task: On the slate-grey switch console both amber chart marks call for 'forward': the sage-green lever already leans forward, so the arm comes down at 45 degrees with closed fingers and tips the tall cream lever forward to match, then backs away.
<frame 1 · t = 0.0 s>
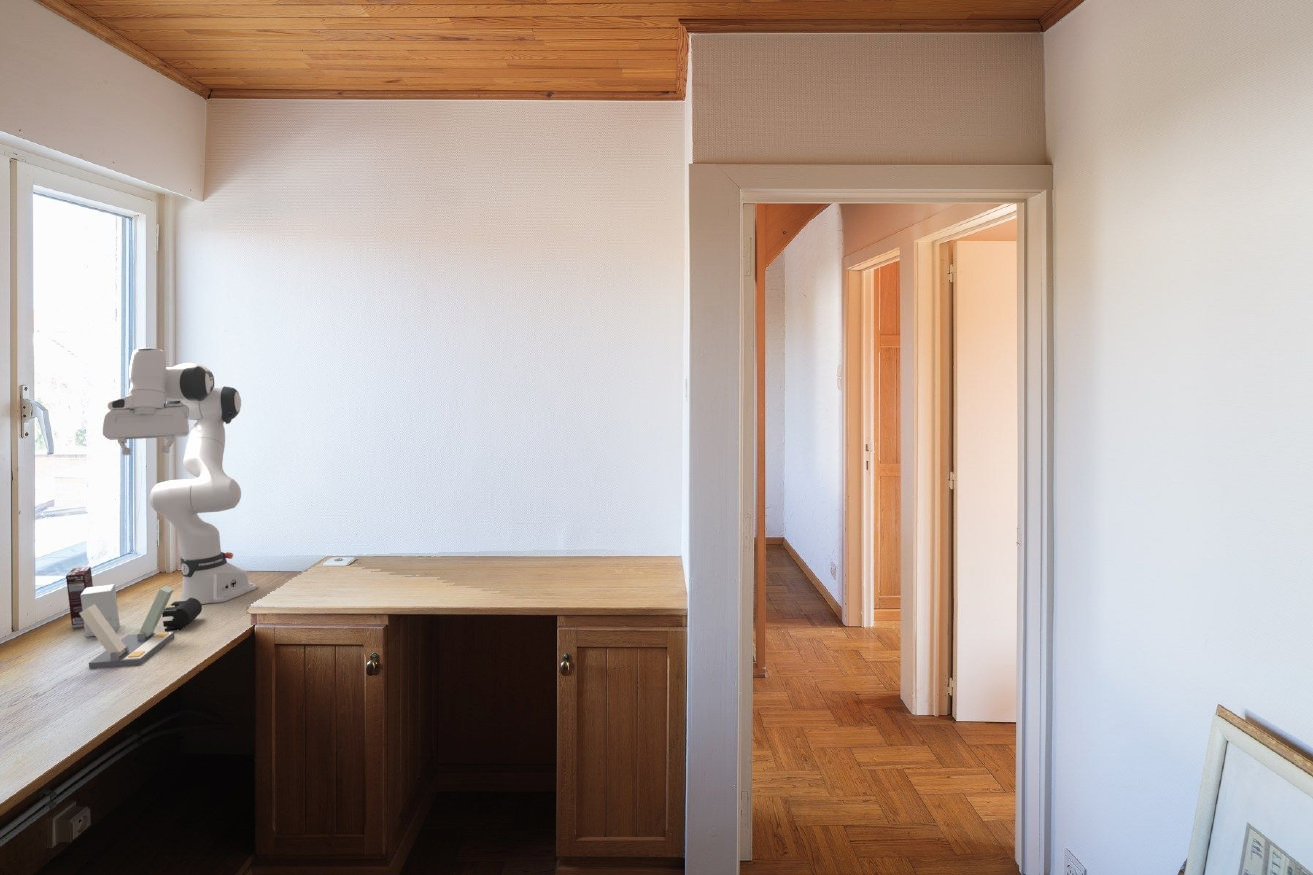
hand: (146, 453, 221), 52 cm above the table, tool tilted 20°, fingers open, 8 cm apart
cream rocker: (104, 632, 210), point 8 cm above the table, hinge at -28.0°
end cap: (183, 626, 239), on the table
supplement box 2: (103, 631, 235), on the table
console: (133, 651, 218), on the table
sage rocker: (155, 612, 224), point 8 cm above the table, hinge at 28.0°
supplement box: (84, 623, 243), on the table
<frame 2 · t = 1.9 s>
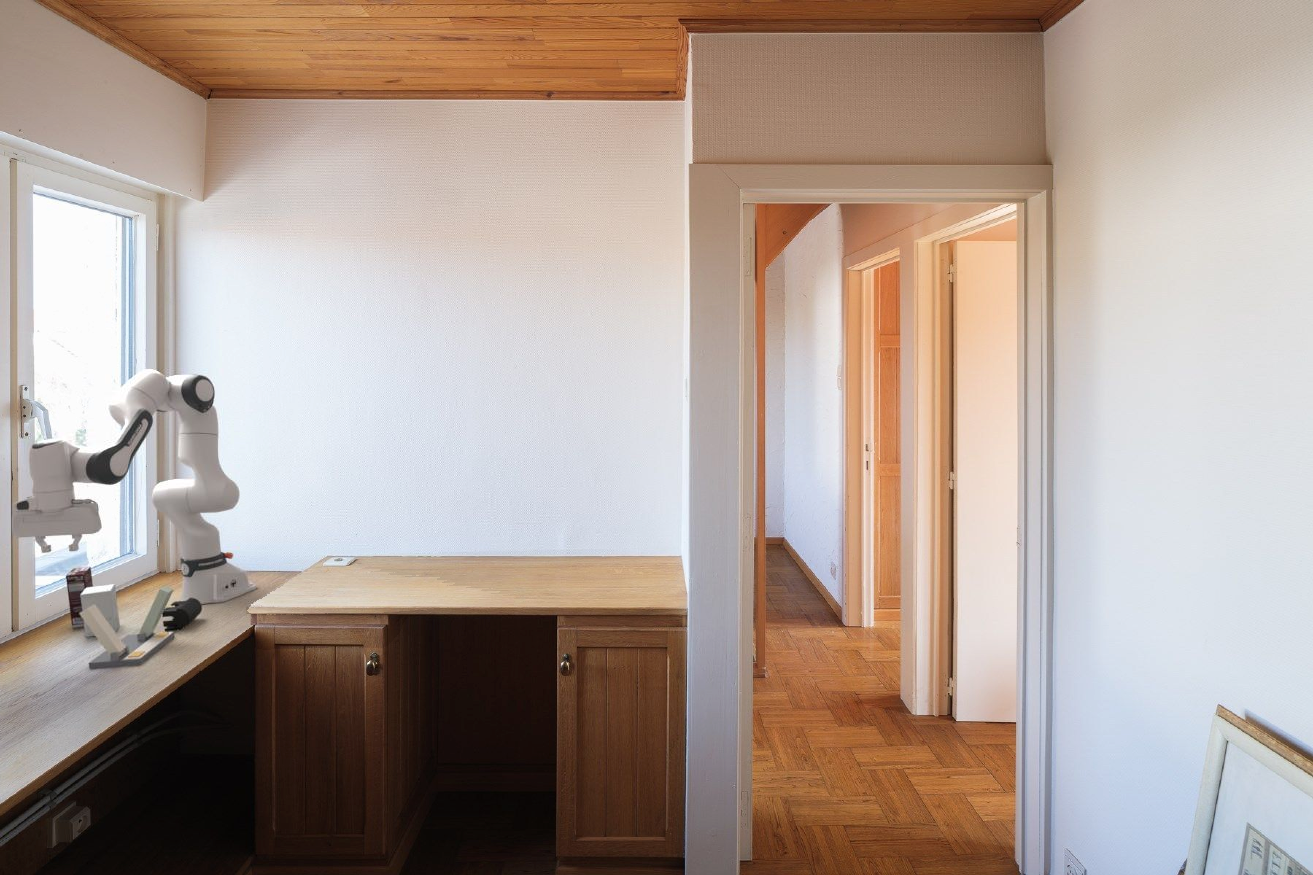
hand: (60, 551, 218), 27 cm above the table, tool pointing down, fingers open, 5 cm apart
nothing on the table moved.
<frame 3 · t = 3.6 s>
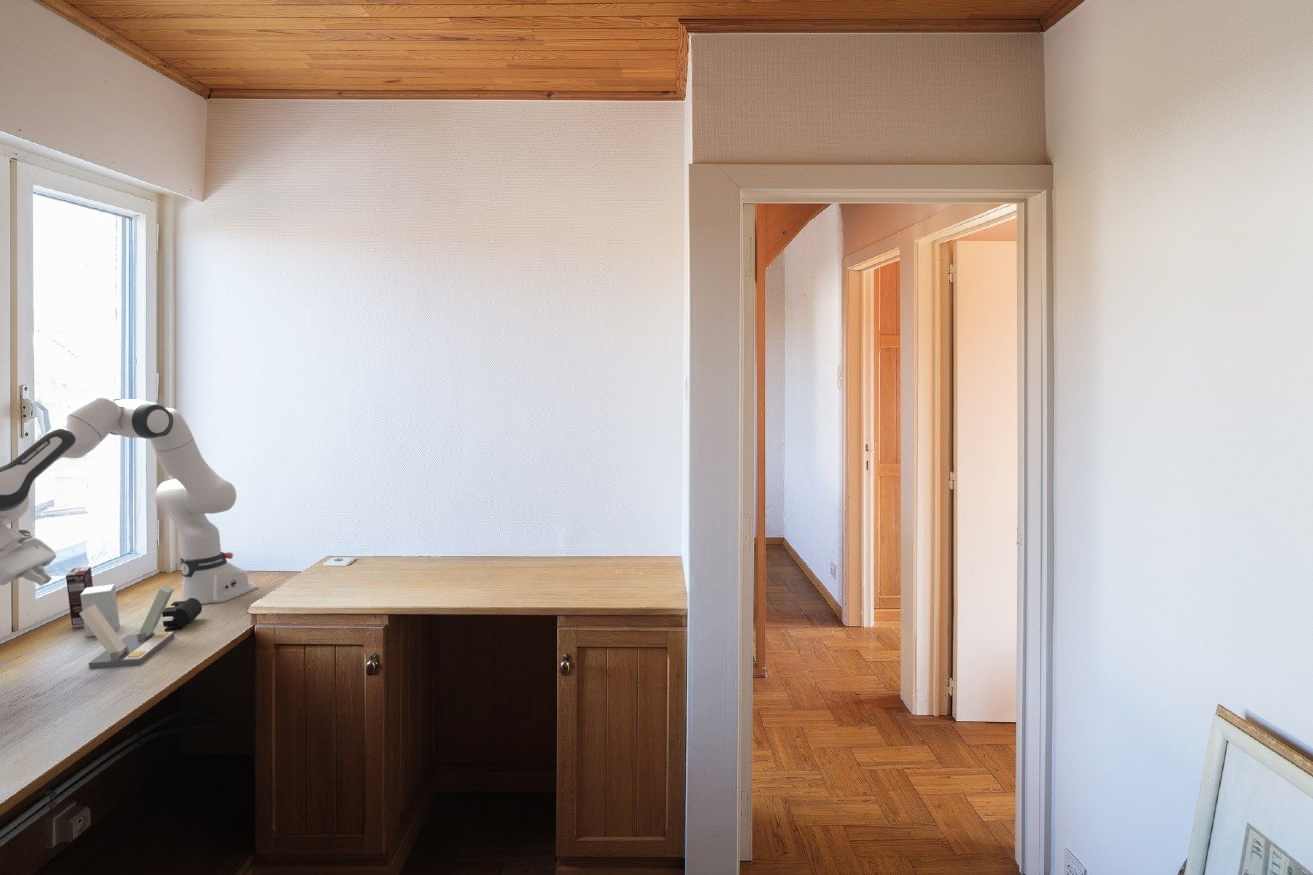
hand: (46, 582, 207), 22 cm above the table, tool tilted 45°, fingers closed
nothing on the table moved.
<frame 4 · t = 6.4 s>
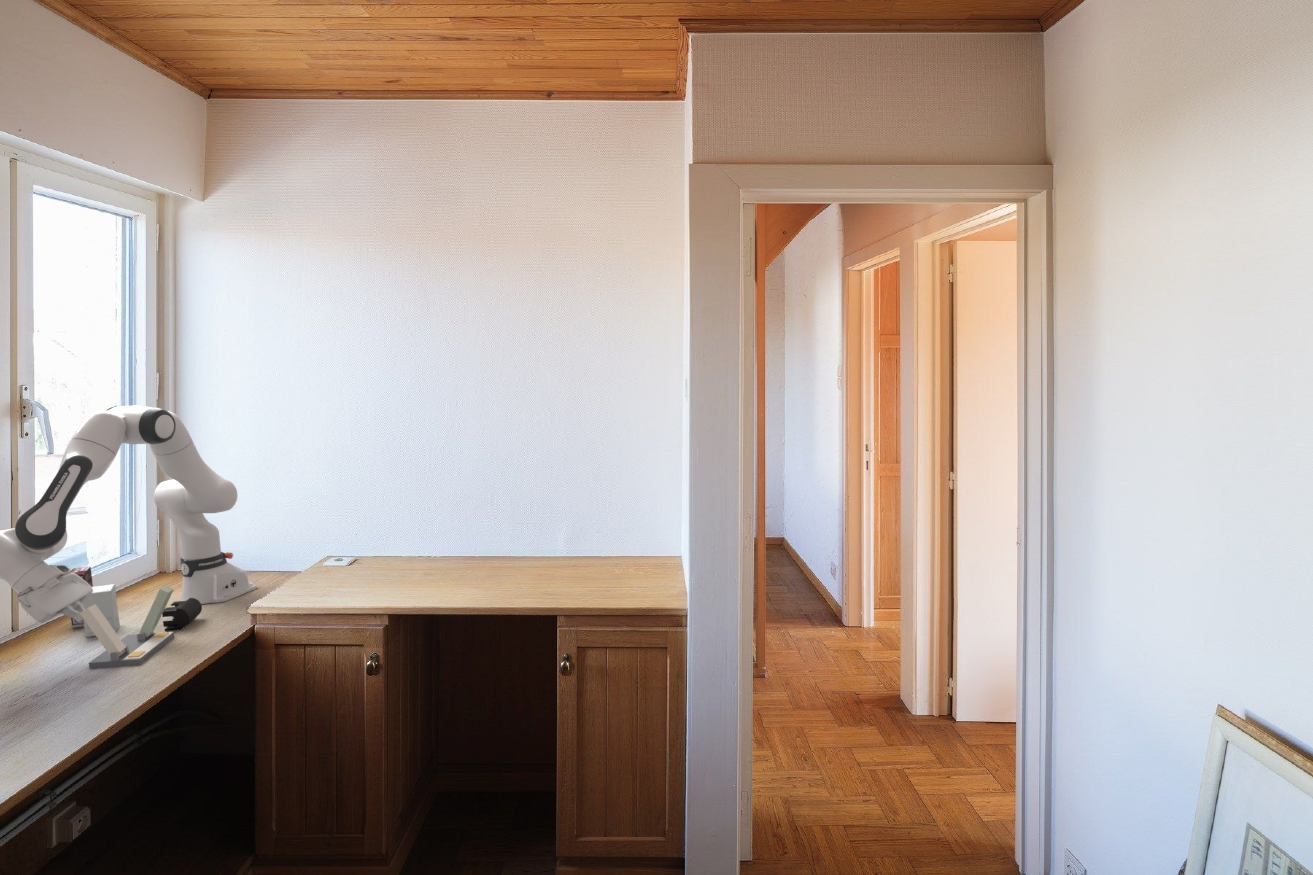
hand: (84, 618, 209), 12 cm above the table, tool tilted 45°, fingers closed, pressing on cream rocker
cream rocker: (104, 631, 210), point 8 cm above the table, hinge at -27.3°, touching gripper
everything else where it was.
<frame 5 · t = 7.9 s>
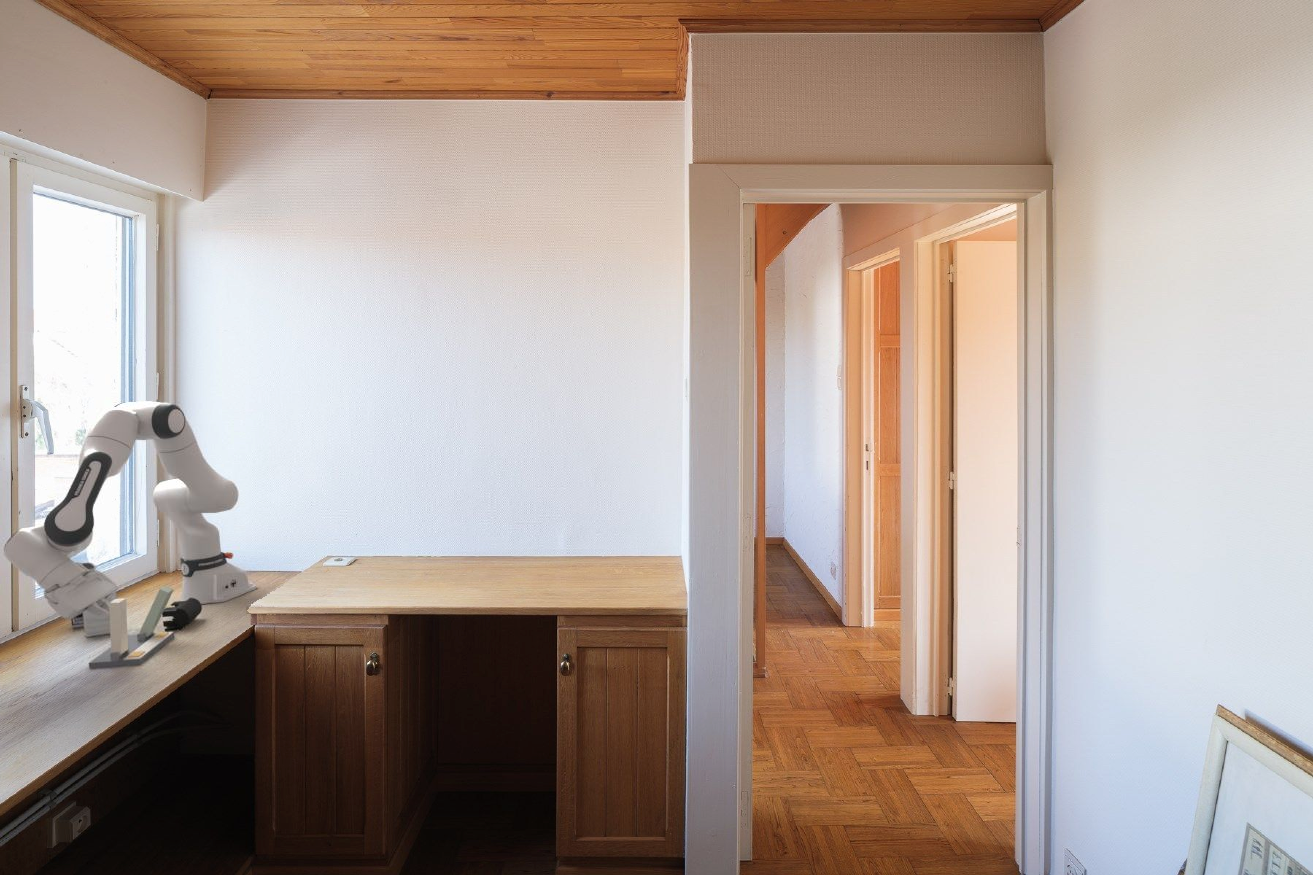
hand: (110, 615, 209), 13 cm above the table, tool tilted 45°, fingers closed, pressing on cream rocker
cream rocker: (118, 628, 210), point 9 cm above the table, hinge at 3.3°, touching gripper
everything else where it was.
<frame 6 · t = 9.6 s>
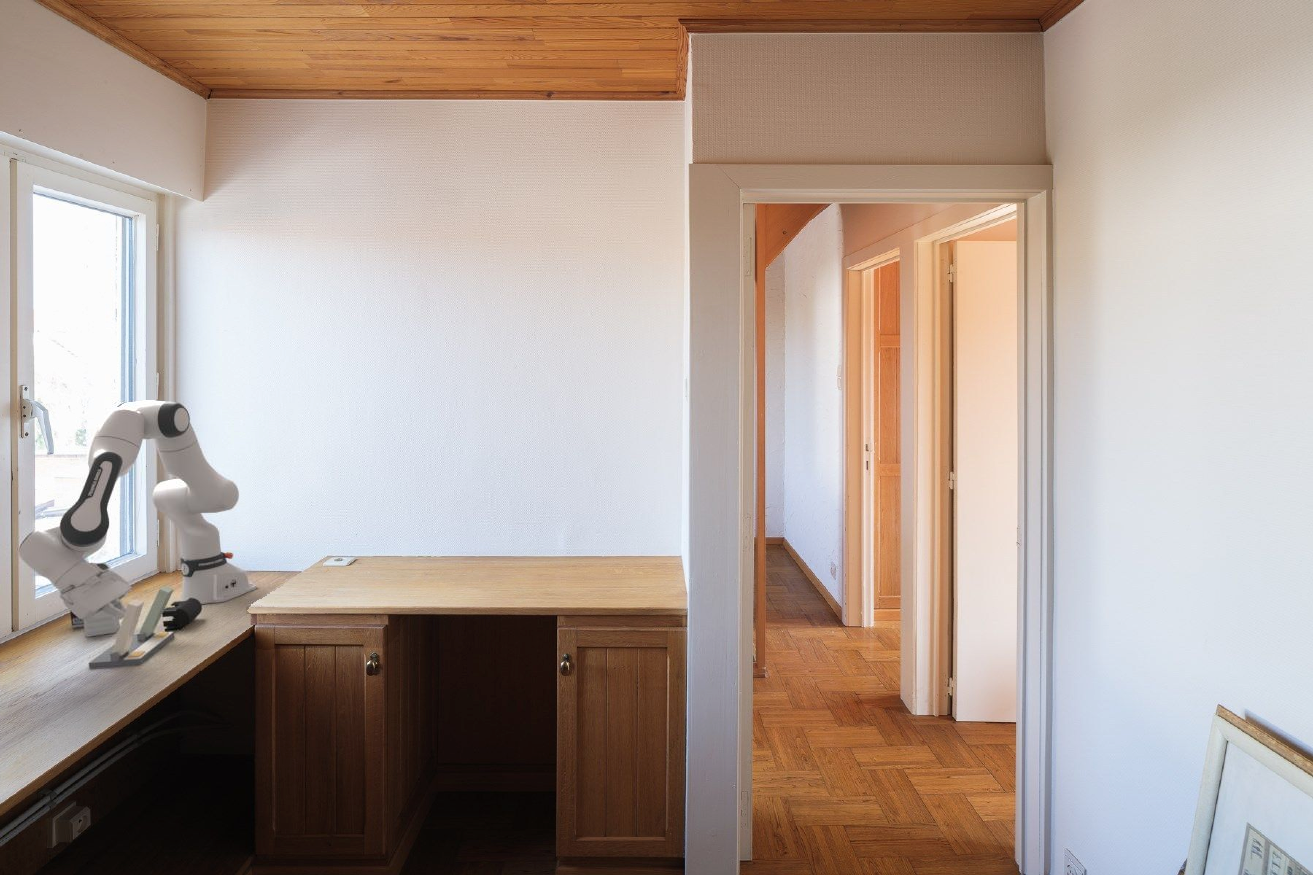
hand: (124, 615, 210), 12 cm above the table, tool tilted 45°, fingers closed, pressing on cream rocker
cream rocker: (127, 629, 211), point 9 cm above the table, hinge at 21.1°, touching gripper
everything else where it was.
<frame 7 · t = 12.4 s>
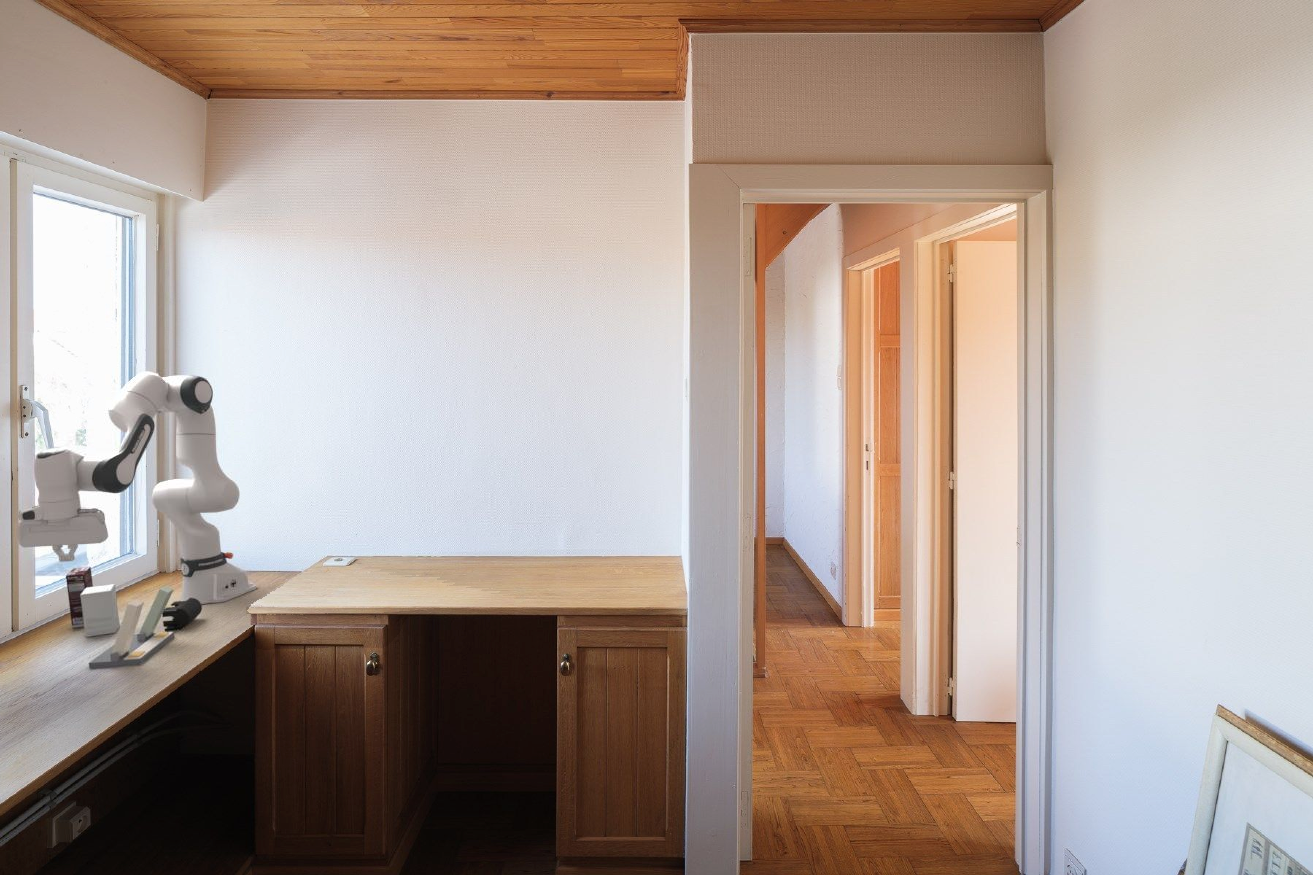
hand: (67, 560, 216), 25 cm above the table, tool pointing down, fingers closed
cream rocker: (127, 629, 211), point 9 cm above the table, hinge at 21.2°
everything else where it was.
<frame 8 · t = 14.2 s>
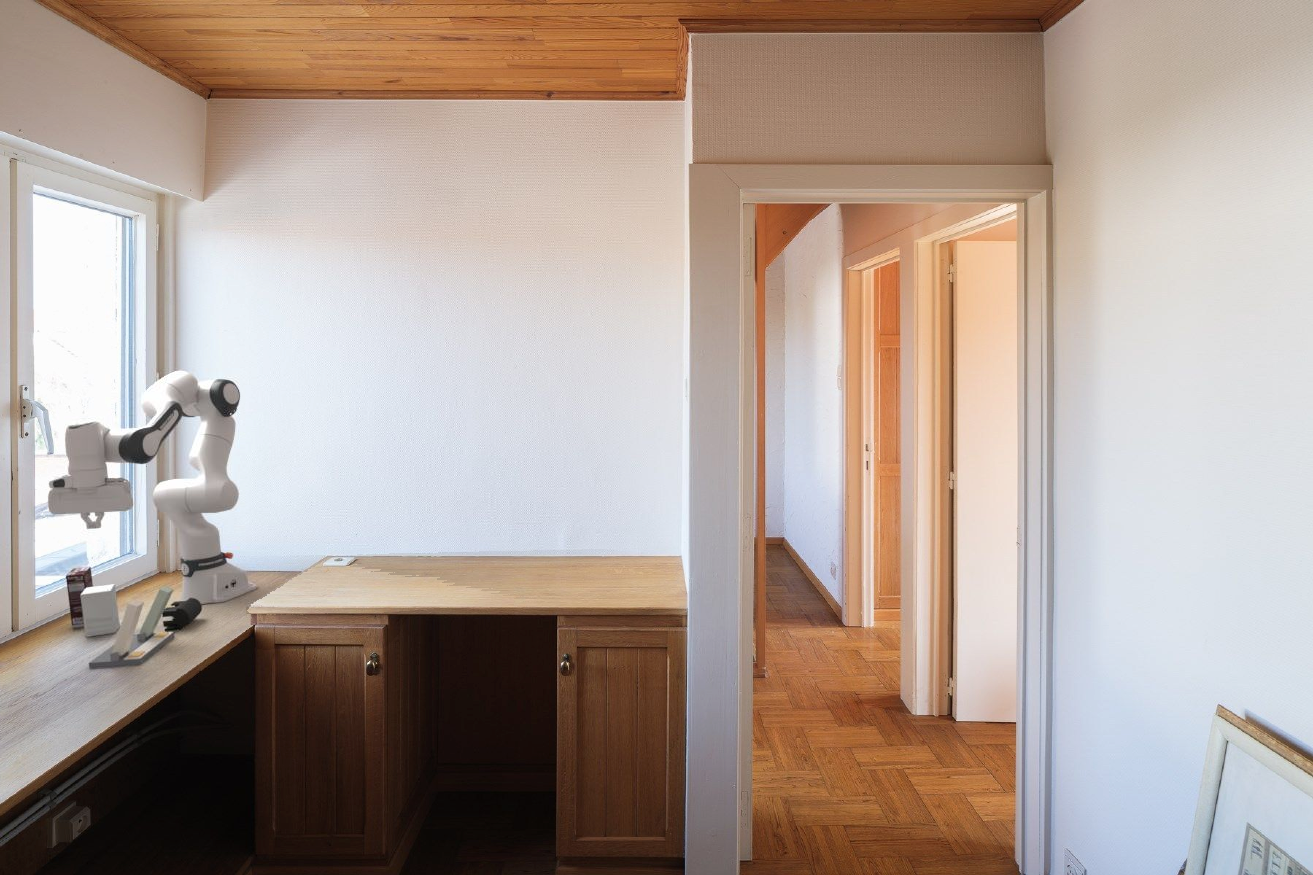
hand: (94, 528, 227), 31 cm above the table, tool pointing down, fingers closed
nothing on the table moved.
at the end: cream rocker at +21° (first picture: -28°); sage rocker at +28° (first picture: +28°) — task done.
